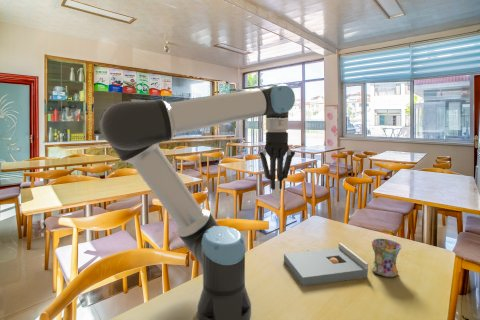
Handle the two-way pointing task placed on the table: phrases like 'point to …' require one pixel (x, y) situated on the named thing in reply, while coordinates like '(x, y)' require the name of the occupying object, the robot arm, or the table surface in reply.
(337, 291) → the table surface
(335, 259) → the ball
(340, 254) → the board
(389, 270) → the mug
